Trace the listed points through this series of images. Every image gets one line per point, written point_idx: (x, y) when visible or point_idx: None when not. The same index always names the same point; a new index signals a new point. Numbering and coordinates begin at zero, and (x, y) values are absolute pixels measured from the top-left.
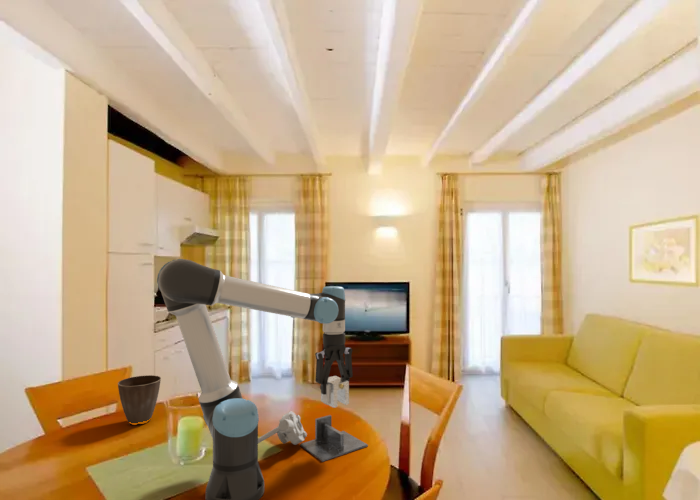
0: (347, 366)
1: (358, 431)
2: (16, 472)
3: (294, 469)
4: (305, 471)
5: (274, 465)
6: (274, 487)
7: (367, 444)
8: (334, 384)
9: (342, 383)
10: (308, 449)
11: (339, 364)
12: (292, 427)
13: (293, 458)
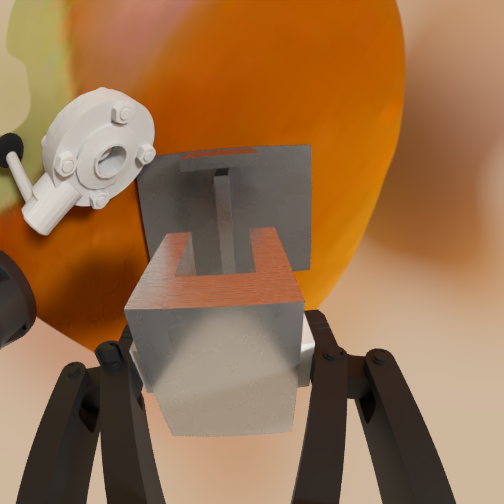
0: (378, 445)
1: (352, 167)
2: None
3: (89, 274)
4: (108, 294)
5: (54, 234)
6: (50, 310)
7: (309, 268)
8: (179, 434)
9: (240, 430)
10: (142, 208)
11: (294, 490)
12: (69, 209)
13: (97, 224)
